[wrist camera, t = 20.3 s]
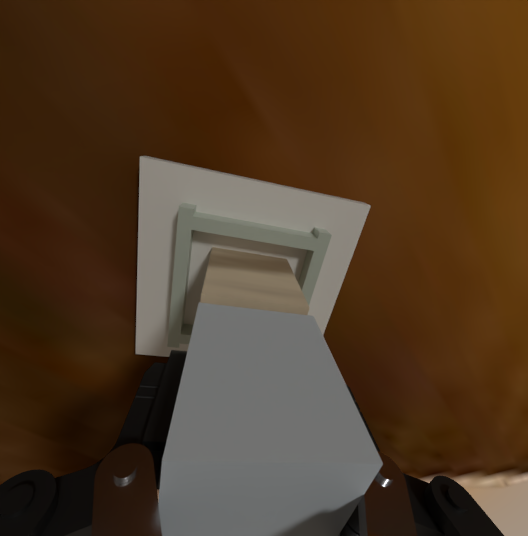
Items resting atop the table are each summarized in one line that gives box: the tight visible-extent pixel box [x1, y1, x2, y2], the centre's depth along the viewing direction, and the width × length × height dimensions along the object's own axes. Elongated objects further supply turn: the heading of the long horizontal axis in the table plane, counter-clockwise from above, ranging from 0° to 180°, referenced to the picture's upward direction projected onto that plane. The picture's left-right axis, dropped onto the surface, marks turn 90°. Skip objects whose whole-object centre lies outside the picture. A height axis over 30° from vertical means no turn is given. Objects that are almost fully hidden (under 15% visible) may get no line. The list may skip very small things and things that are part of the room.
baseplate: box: [136, 156, 371, 357], centre depth 18 cm, size 14×14×2 cm
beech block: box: [200, 247, 310, 315], centre depth 15 cm, size 5×5×6 cm
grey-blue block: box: [158, 302, 383, 536], centre depth 9 cm, size 5×5×6 cm
